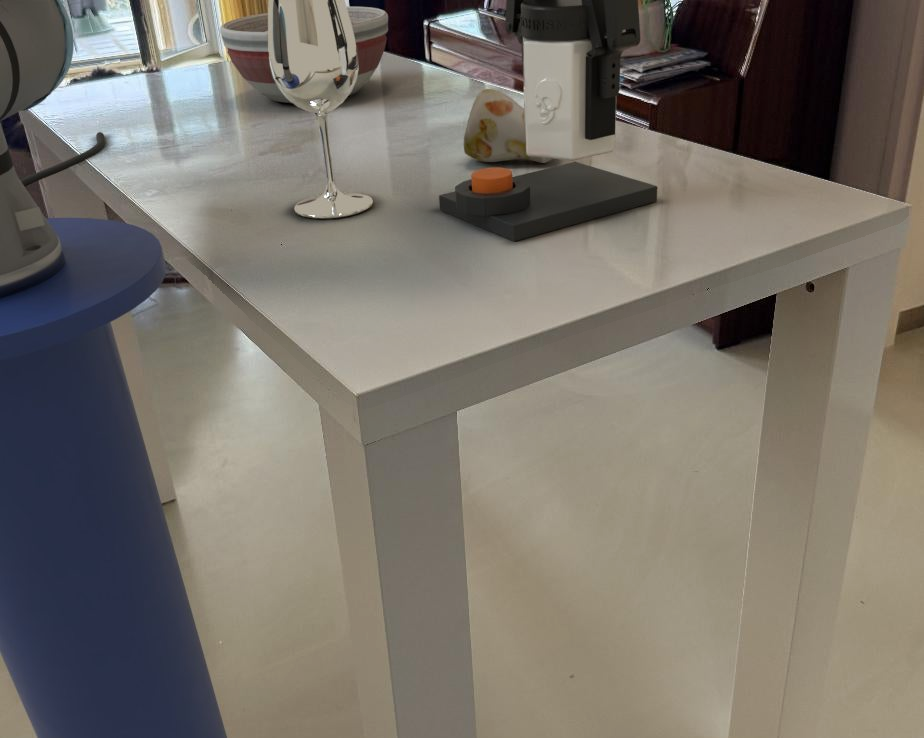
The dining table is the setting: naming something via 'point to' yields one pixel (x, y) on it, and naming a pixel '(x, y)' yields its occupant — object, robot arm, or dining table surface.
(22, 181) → the robot arm
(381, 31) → the bowl
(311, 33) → the wineglass
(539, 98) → the jar
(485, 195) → the scale
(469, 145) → the fruit sandwich
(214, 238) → the dining table surface
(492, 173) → the button
